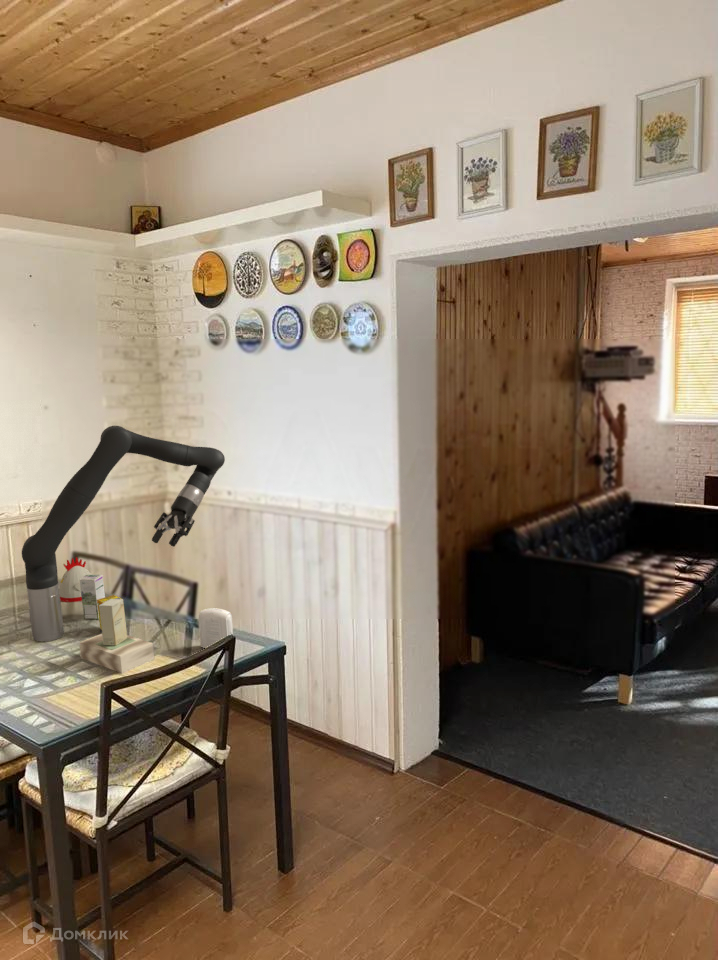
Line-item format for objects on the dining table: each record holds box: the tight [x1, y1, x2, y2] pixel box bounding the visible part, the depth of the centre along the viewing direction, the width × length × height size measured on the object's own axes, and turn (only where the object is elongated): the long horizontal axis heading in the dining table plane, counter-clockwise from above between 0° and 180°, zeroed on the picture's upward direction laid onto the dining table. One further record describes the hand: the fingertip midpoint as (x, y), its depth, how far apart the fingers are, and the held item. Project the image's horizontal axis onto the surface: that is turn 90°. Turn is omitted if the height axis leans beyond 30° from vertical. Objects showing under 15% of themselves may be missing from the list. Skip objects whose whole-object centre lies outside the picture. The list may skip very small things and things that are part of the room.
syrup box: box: [80, 574, 106, 620], centre depth 248 cm, size 6×6×14 cm
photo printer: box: [198, 607, 234, 649], centre depth 216 cm, size 10×4×12 cm, turn 72°
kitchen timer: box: [59, 556, 92, 603], centre depth 271 cm, size 14×14×15 cm
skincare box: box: [99, 598, 128, 646], centre depth 211 cm, size 6×4×12 cm
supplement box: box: [97, 594, 122, 633], centre depth 234 cm, size 6×6×11 cm
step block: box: [78, 633, 155, 674], centre depth 212 cm, size 20×11×5 cm, turn 53°
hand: (162, 543), depth 229 cm, fingers open, 8 cm apart
